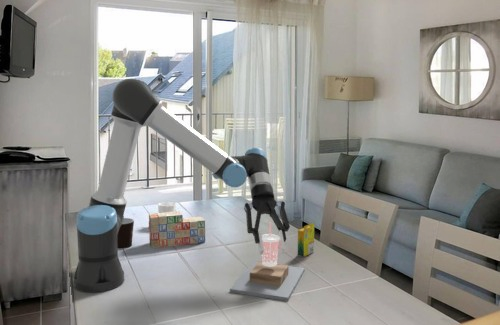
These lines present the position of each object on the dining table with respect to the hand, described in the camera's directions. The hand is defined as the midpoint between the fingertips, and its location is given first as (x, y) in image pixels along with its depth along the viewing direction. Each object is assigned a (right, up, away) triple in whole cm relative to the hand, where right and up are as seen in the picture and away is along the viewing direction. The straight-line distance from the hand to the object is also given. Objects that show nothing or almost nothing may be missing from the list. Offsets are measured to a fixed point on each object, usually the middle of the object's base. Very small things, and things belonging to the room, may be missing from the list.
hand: (272, 251), depth 141 cm
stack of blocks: (-36, -5, +42) cm, 55 cm away
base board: (-1, -10, +5) cm, 12 cm away
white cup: (-44, -1, +65) cm, 78 cm away
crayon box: (+14, -7, +31) cm, 34 cm away
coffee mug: (-56, -5, +39) cm, 68 cm away
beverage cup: (-1, -5, +4) cm, 7 cm away
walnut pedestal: (-1, -10, +5) cm, 12 cm away
